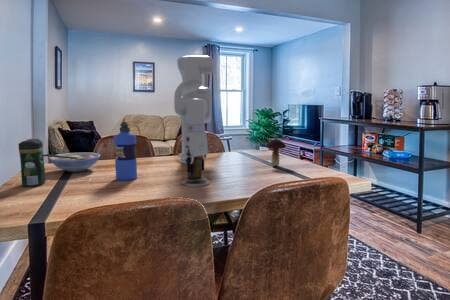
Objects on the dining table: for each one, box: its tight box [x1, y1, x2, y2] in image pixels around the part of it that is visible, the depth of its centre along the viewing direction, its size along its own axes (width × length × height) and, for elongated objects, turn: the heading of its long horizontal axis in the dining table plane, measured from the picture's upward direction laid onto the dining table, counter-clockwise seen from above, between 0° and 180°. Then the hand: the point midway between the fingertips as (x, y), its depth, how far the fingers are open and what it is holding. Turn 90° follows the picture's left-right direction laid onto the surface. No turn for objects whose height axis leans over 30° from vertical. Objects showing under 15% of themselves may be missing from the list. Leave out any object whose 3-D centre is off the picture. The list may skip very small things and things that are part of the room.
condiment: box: [183, 155, 207, 181], centre depth 136 cm, size 7×8×12 cm
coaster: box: [181, 178, 211, 188], centre depth 137 cm, size 12×12×1 cm
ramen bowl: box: [43, 152, 101, 173], centre depth 159 cm, size 25×23×8 cm
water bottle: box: [113, 121, 138, 182], centre depth 143 cm, size 9×9×25 cm
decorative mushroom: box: [265, 138, 287, 167], centre depth 173 cm, size 11×11×15 cm
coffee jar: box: [18, 138, 47, 188], centre depth 132 cm, size 10×8×19 cm
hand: (195, 170), depth 137 cm, fingers closed on condiment, 6 cm apart
